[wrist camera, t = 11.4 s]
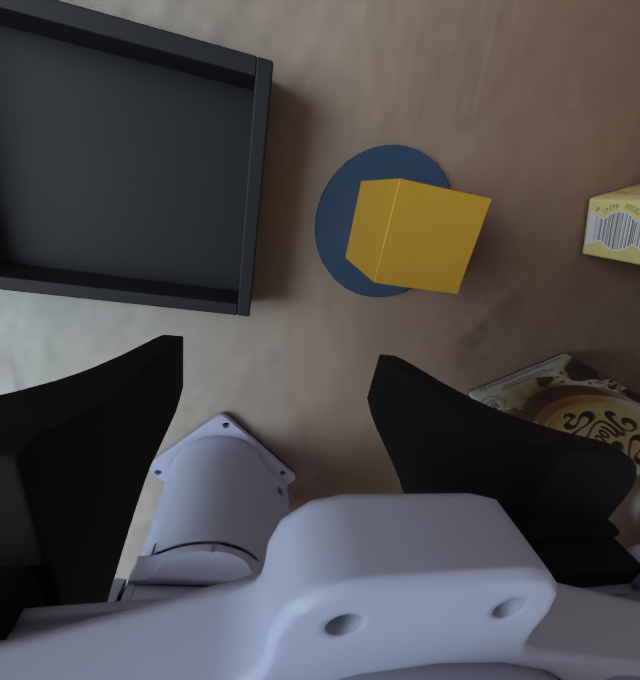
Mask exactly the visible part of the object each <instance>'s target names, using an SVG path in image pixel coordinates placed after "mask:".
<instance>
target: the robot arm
mask: <svg viewBox="0 0 640 680" xmlns="http://www.w3.org/2000/svg"><path fill="white" fill-rule="evenodd" d="M182 389H183V336H172V335H162V336H159V337H157V338H155V339H153V340H151V341H149V342H147V343H145V344H143V345H141V346H139V347H137V348H135V349H133V350H131V351H129V352H127V353H125V354H123V355H121V356H119V357H116V358H114V359H112V360H110V361H107V362H105V363H103V364H101V365H98V366H96V367H93V368H91V369H88V370H86V371H83V372H80V373H77V374H75V375H72V376H69V377H66V378H63V379H60V380H56V381H53V382H49V383H46V384H42V385H38V386H35V387H31V388H27V389H23V390H20V391H16V392H12V393H8V394H3V395H0V680H640V544H637V545H633V546H631V547H629V548H627V549H625V548H624V547H623V546H622V545H621V544H620V543H619V542H618V541H617V540H616V539H615V538H614V537H617V536H618V535H619V534H620V532H619V529H618V528H617V527H616V526H615V525H614V524H613V523H612V522H611V521H610V520H609V517H610V516H611V515H612V514H613V512H614V511H615V510H616V509H617V507H618V506H619V505H620V504H621V502H622V501H623V500H624V499H625V497H626V496H627V495H628V493H629V492H630V490H631V489H632V487H633V486H634V483H635V480H636V478H637V467H636V464H635V462H634V460H633V459H632V458H631V457H629V456H628V455H627V454H625V453H624V452H623V451H621V450H620V449H619V448H617V447H616V446H614V445H612V444H610V443H607V442H604V441H600V440H596V439H592V438H588V437H584V436H580V435H576V434H572V433H567V432H563V431H560V430H556V429H553V428H550V427H546V426H543V425H540V424H536V423H533V422H530V421H527V420H524V419H522V418H519V417H516V416H513V415H511V414H508V413H505V412H503V411H500V410H498V409H495V408H493V407H490V406H488V405H486V404H484V403H481V402H479V401H477V400H475V399H473V398H471V397H469V396H466V395H464V394H462V393H461V392H459V391H457V390H455V389H453V388H451V387H449V386H448V385H446V384H444V383H442V382H441V381H439V380H437V379H435V378H434V377H432V376H430V375H429V374H427V373H425V372H424V371H422V370H420V369H418V368H417V367H415V366H413V365H412V364H410V363H408V362H406V361H405V360H403V359H401V358H398V357H396V356H391V355H379V359H378V362H377V366H376V369H375V373H374V376H373V380H372V383H371V387H370V390H369V394H368V397H367V399H368V403H369V407H370V411H371V414H372V417H373V420H374V423H375V425H376V427H377V430H378V432H379V434H380V436H381V439H382V441H383V443H384V445H385V447H386V450H387V452H388V454H389V456H390V458H391V461H392V463H393V465H394V467H395V470H396V472H397V475H398V477H399V480H400V483H401V486H402V489H403V492H404V494H340V495H335V496H330V497H325V498H320V499H314V500H310V501H309V502H307V503H306V504H304V505H302V506H301V507H299V508H298V509H296V510H294V511H293V512H291V513H289V500H288V487H287V485H288V484H290V483H291V482H293V481H294V480H295V474H294V473H293V472H292V471H291V470H290V469H289V468H288V467H287V466H285V465H284V464H283V463H282V462H281V461H280V460H278V459H277V458H276V457H275V456H274V455H273V454H272V453H270V452H269V451H268V450H267V449H266V448H265V447H264V446H262V445H261V444H260V443H259V442H258V441H257V440H255V439H254V438H253V437H252V436H251V435H250V434H249V433H247V432H246V431H245V430H244V429H243V428H242V427H241V426H239V425H238V424H237V423H236V422H235V421H234V420H232V419H231V418H230V417H229V416H228V415H226V414H224V413H220V414H218V415H216V416H215V417H213V418H212V419H211V420H209V421H208V422H206V423H205V424H203V425H202V426H201V427H199V428H198V429H196V430H195V431H193V432H192V433H191V434H189V435H188V436H186V437H185V438H183V439H182V440H180V441H179V442H178V443H176V444H175V445H173V446H172V447H170V448H169V449H168V450H166V451H165V452H163V453H162V454H160V455H159V456H158V457H156V458H155V456H156V453H157V451H158V449H159V447H160V445H161V443H162V440H163V438H164V436H165V434H166V432H167V430H168V428H169V425H170V423H171V421H172V419H173V417H174V414H175V412H176V409H177V406H178V403H179V399H180V396H181V392H182ZM224 423H229V424H228V425H226V424H224ZM154 458H155V459H154ZM158 470H161V471H158ZM148 472H150V473H151V474H153V475H154V476H156V477H157V478H159V479H161V480H162V481H164V482H165V486H164V489H163V492H162V495H161V498H160V501H159V504H158V507H157V510H156V513H155V516H154V519H153V522H152V525H151V527H150V530H149V533H148V536H147V539H146V542H145V545H144V548H143V551H142V554H141V556H138V557H137V558H136V560H135V563H134V566H133V569H132V572H131V575H130V577H129V580H128V584H127V586H126V579H120V578H116V579H114V577H115V574H116V570H117V567H118V564H119V560H120V557H121V553H122V550H123V547H124V543H125V540H126V537H127V534H128V531H129V528H130V524H131V521H132V518H133V515H134V512H135V509H136V506H137V503H138V500H139V497H140V494H141V491H142V488H143V485H144V482H145V479H146V476H147V474H148Z"/></svg>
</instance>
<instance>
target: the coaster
mask: <svg viewBox="0 0 640 680" xmlns="http://www.w3.org/2000/svg"><path fill="white" fill-rule="evenodd" d="M399 178H401V179H406V180H410V181H415V182H419V183H424V184H428V185H433V186H437V187H442V188H446V189H450V187H449V184H448V182H447V180H446V178H445V176H444V174H443V172H442V171H441V170H440V168H439V167H438V166H437V165H436V164H435V163H434V162H433V161H432V160H431V159H430V158H429V157H427V156H426V155H425V154H423V153H421V152H419V151H417V150H415V149H412V148H409V147H406V146H399V145H385V146H379V147H375V148H372V149H369V150H366V151H364V152H362V153H360V154H358V155H356V156H354V157H353V158H352V159H350V160H349V161H347V162H346V163H345V164H344V165H343V166H342V167H341V168H340V169H339V170H338V171H337V172H336V173H335V174H334V176H333V177H332V178H331V180H330V181H329V183H328V184H327V186H326V188H325V190H324V192H323V194H322V196H321V199H320V202H319V205H318V209H317V214H316V222H315V236H316V243H317V247H318V251H319V254H320V257H321V259H322V261H323V263H324V265H325V267H326V268H327V270H328V271H329V273H330V274H331V275H332V276H333V278H334V279H336V280H337V281H338V282H339V283H340V284H341V285H343V286H344V287H345V288H347V289H349V290H351V291H353V292H355V293H358V294H361V295H365V296H371V297H384V296H390V295H395V294H398V293H401V292H403V291H406V290H408V289H410V288H407V287H400V286H393V285H386V284H379V283H374V282H373V281H372V280H370V279H369V278H368V277H367V276H366V275H365V274H364V273H362V272H361V271H360V270H359V269H358V268H357V267H356V266H354V265H353V264H352V263H351V262H350V261H349V260H347V259H346V252H347V248H348V243H349V238H350V233H351V228H352V223H353V219H354V214H355V209H356V204H357V199H358V194H359V190H360V185H361V181H368V180H383V179H399Z"/></svg>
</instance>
